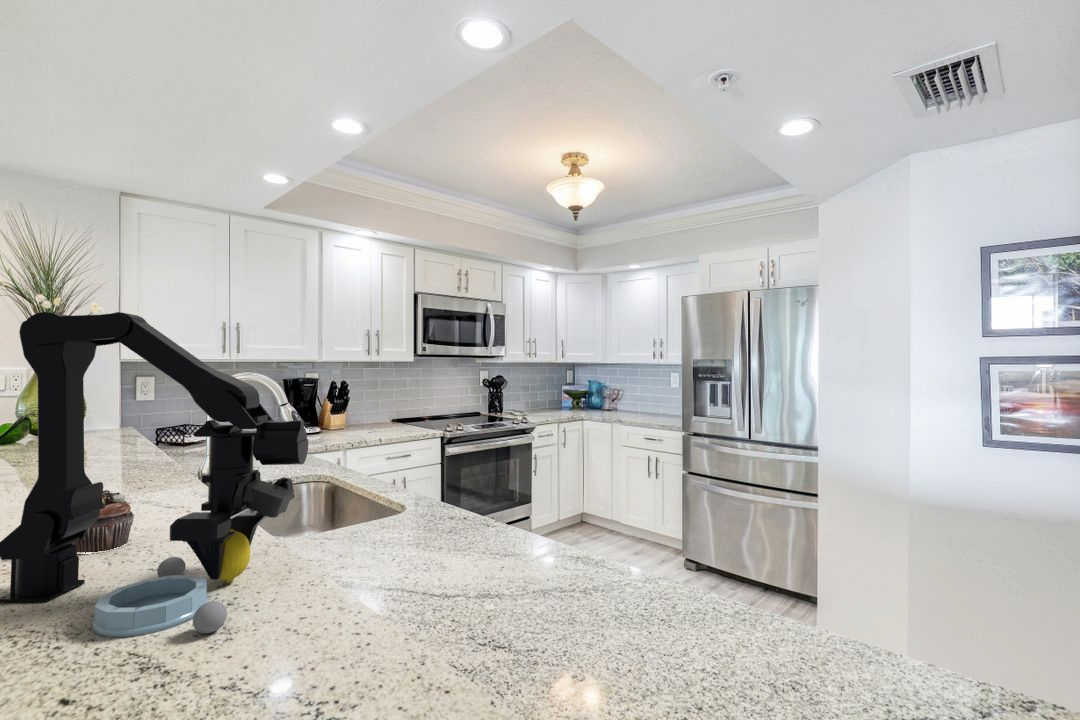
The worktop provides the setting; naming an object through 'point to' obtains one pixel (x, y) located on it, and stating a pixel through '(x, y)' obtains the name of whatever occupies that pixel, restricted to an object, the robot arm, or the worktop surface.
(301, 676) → the worktop surface
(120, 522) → the cupcake
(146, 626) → the dish
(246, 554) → the lemon
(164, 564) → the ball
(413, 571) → the worktop surface
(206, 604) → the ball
